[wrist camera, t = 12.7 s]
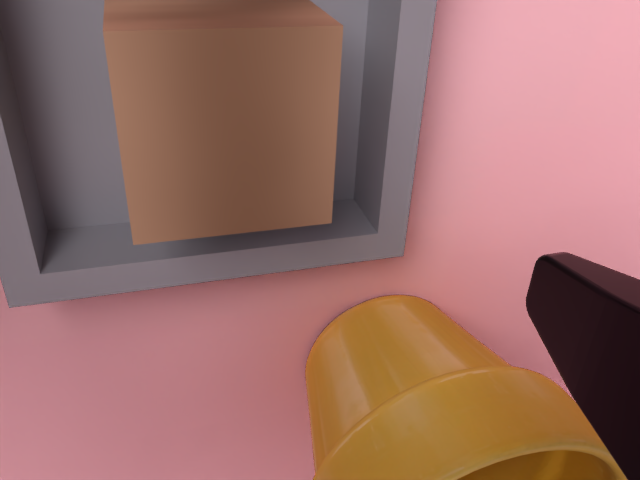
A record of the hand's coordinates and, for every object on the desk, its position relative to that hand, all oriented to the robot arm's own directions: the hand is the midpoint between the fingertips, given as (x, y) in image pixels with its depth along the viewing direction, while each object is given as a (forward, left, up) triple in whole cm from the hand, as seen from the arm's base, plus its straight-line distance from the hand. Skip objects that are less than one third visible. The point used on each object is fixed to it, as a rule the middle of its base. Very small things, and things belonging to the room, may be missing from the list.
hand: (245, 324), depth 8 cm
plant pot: (+13, +8, -12) cm, 19 cm away
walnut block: (0, +1, -11) cm, 11 cm away
